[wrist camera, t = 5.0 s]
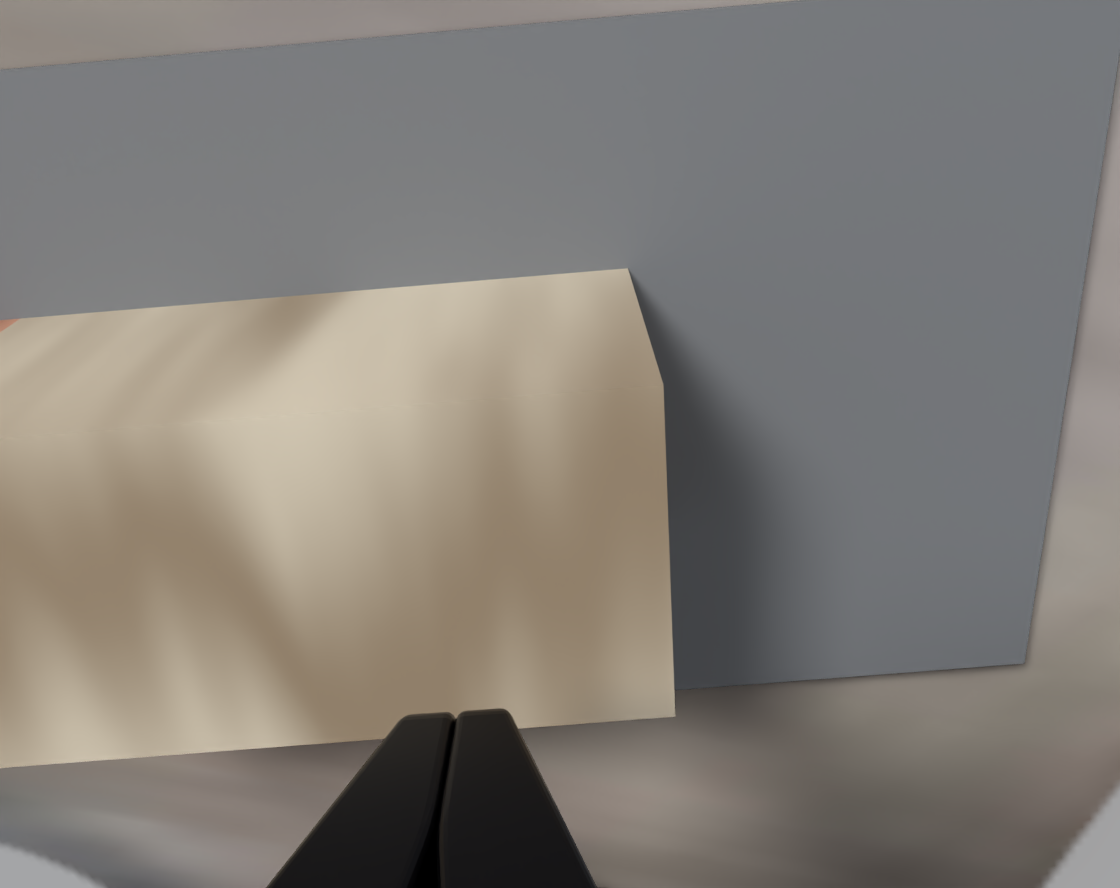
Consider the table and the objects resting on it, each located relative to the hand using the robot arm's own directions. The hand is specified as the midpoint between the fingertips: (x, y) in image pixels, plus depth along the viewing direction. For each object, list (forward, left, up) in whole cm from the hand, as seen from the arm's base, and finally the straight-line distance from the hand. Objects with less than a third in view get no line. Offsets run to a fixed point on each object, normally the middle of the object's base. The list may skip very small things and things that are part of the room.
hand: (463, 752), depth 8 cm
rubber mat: (0, +1, -7) cm, 7 cm away
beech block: (0, -2, -4) cm, 5 cm away
